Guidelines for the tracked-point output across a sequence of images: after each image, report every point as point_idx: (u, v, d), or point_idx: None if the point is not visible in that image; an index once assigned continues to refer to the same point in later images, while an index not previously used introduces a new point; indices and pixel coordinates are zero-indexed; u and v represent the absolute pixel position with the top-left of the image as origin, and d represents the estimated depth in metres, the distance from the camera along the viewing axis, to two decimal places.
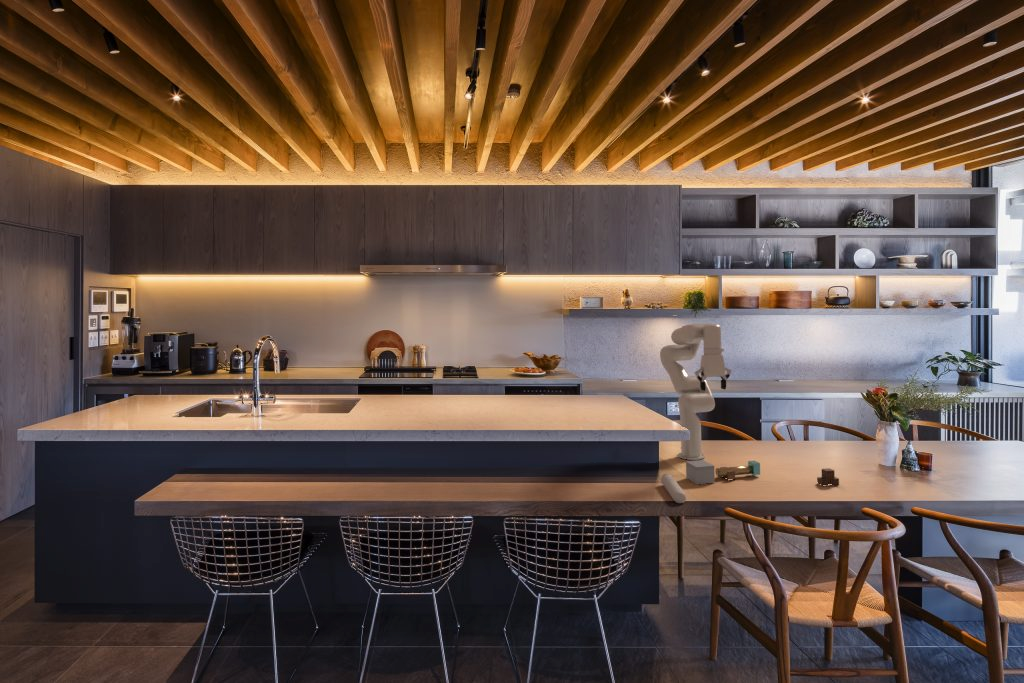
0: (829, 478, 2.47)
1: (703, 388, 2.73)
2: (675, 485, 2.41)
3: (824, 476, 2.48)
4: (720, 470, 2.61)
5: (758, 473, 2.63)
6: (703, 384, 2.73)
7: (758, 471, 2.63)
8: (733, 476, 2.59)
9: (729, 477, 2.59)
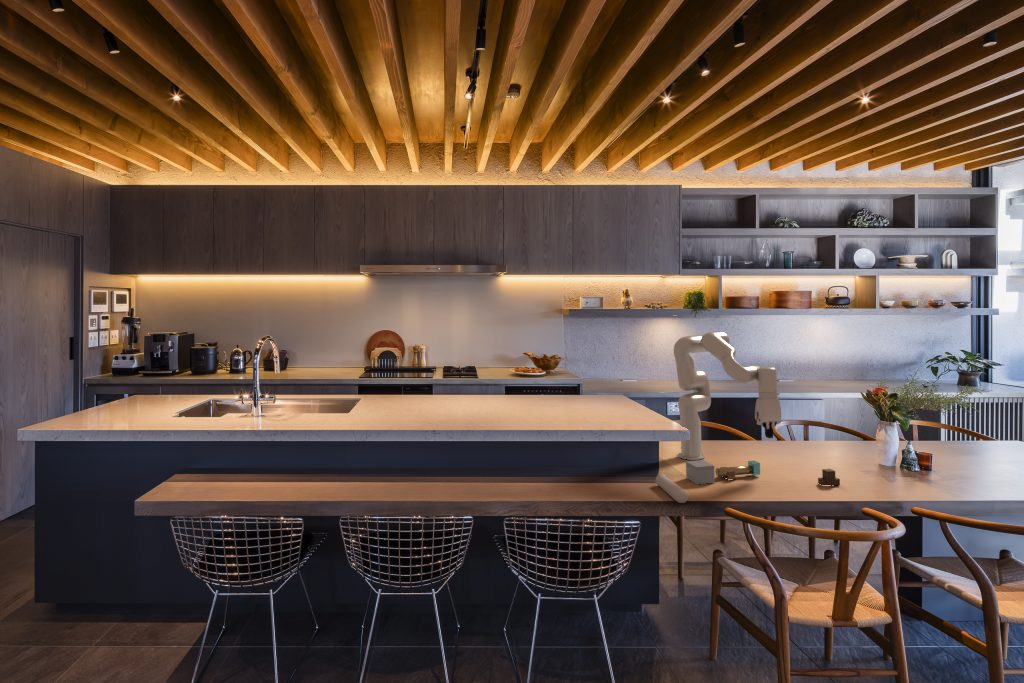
0: (830, 478, 2.46)
1: (768, 435, 2.64)
2: (674, 485, 2.41)
3: (825, 476, 2.47)
4: (720, 470, 2.61)
5: (758, 473, 2.63)
6: (768, 431, 2.63)
7: (758, 471, 2.63)
8: (733, 476, 2.59)
9: (729, 477, 2.59)
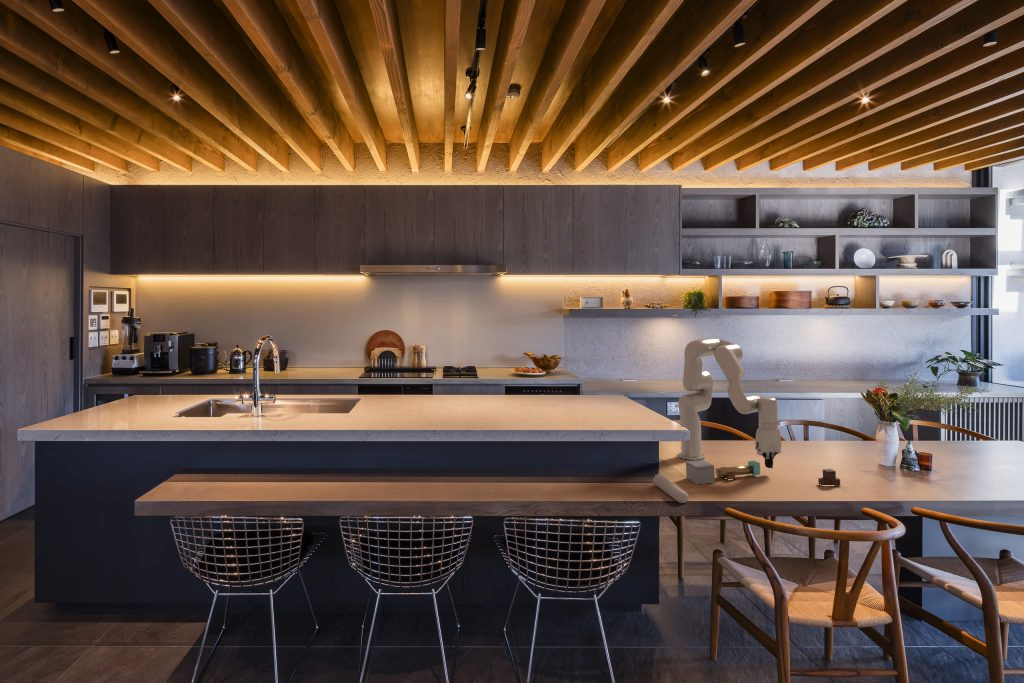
0: (830, 479, 2.46)
1: (768, 465, 2.65)
2: (674, 485, 2.41)
3: (825, 477, 2.47)
4: (720, 470, 2.61)
5: (758, 473, 2.63)
6: (768, 461, 2.64)
7: (758, 471, 2.63)
8: (733, 476, 2.59)
9: (729, 477, 2.59)
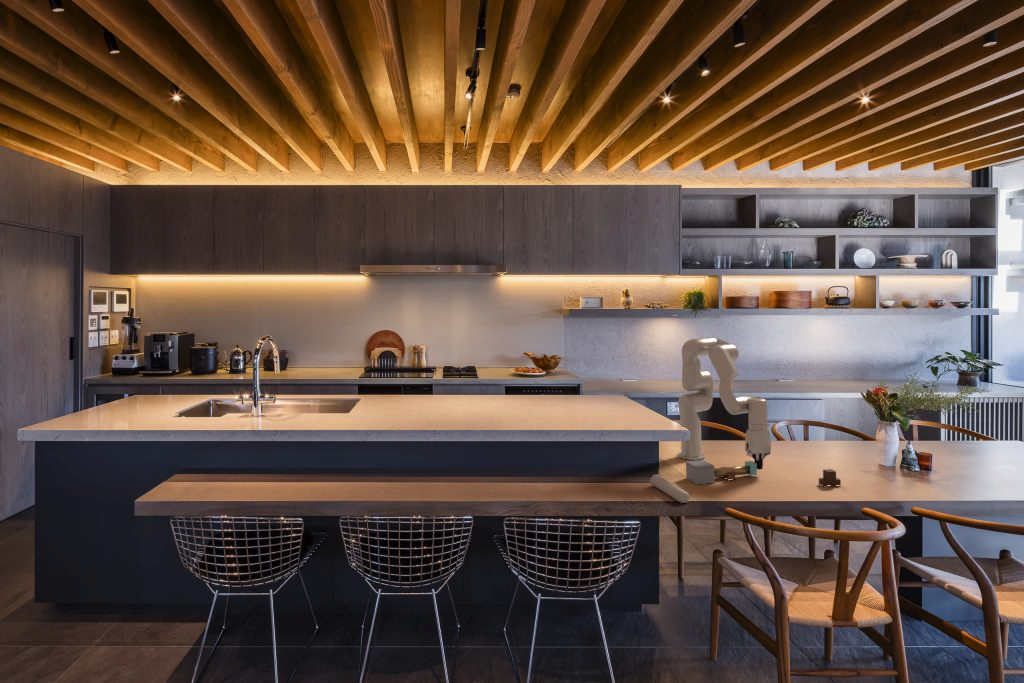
0: (831, 479, 2.45)
1: (758, 467, 2.64)
2: (673, 485, 2.41)
3: (826, 477, 2.47)
4: (717, 470, 2.61)
5: (755, 473, 2.62)
6: (758, 463, 2.64)
7: (755, 471, 2.62)
8: (733, 476, 2.59)
9: (729, 477, 2.59)
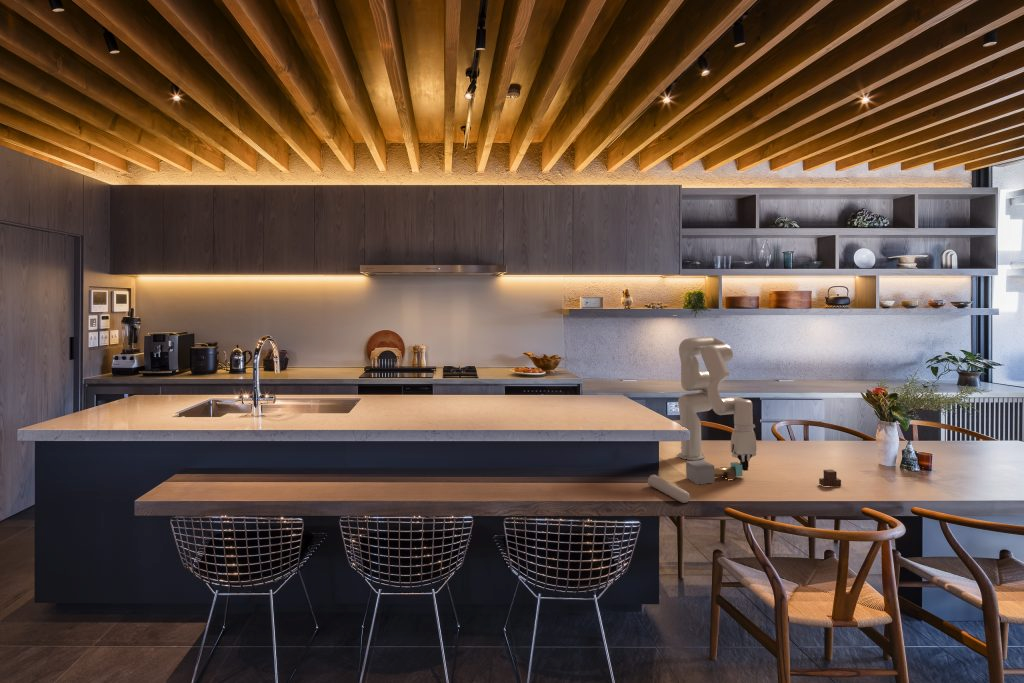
0: (831, 479, 2.45)
1: (743, 468, 2.63)
2: (673, 485, 2.41)
3: (826, 477, 2.46)
4: None
5: (740, 475, 2.61)
6: (743, 464, 2.63)
7: (740, 473, 2.61)
8: (733, 476, 2.59)
9: (729, 477, 2.59)
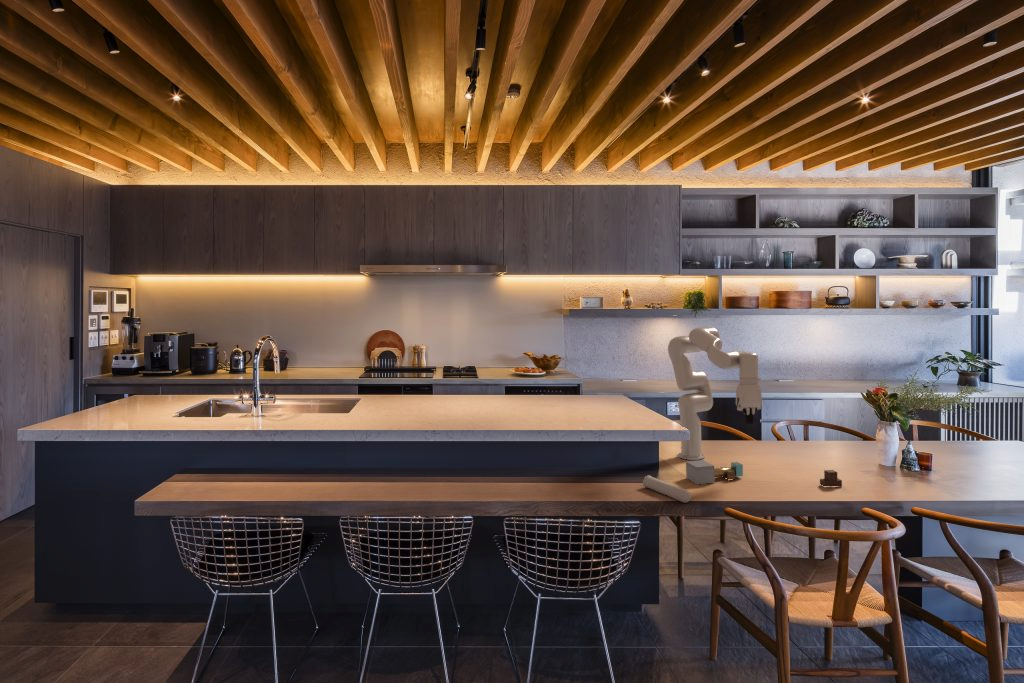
0: (832, 480, 2.44)
1: (748, 421, 2.63)
2: (672, 485, 2.41)
3: (827, 478, 2.46)
4: None
5: (741, 475, 2.61)
6: (748, 417, 2.62)
7: (741, 473, 2.61)
8: (733, 476, 2.59)
9: (729, 477, 2.59)
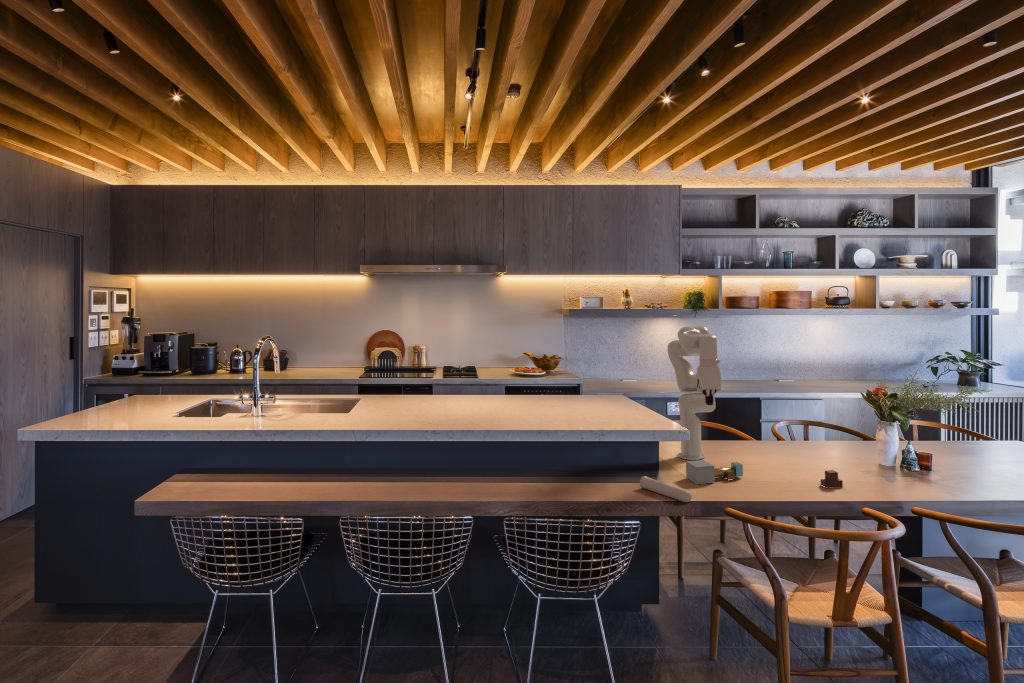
0: (832, 480, 2.44)
1: (708, 403, 2.67)
2: (671, 485, 2.41)
3: (827, 478, 2.45)
4: None
5: (741, 475, 2.61)
6: (708, 398, 2.67)
7: (741, 473, 2.61)
8: (733, 476, 2.59)
9: (729, 477, 2.59)
